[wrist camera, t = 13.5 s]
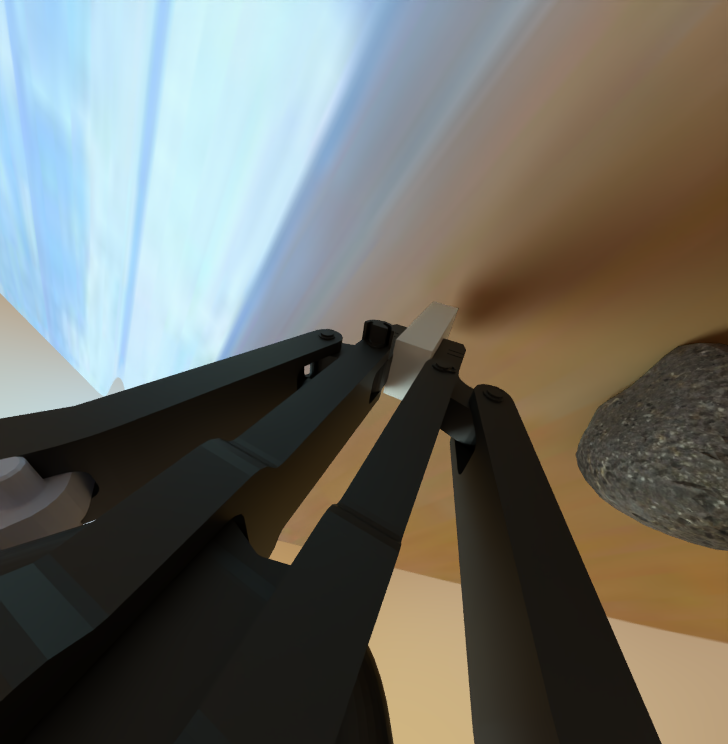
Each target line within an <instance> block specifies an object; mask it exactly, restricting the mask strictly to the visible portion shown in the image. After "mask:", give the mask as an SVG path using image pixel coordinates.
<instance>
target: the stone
mask: <svg viewBox="0 0 728 744" xmlns="http://www.w3.org/2000/svg"><path fill="white" fill-rule="evenodd" d="M576 458H577V464H578V467H579V469H580V471H581V473H582V475H583V476H584V478H585V480H586V481H587V482H588V483H589V485H590V486H591V487H592V488H593V489H594V490H595V492H596V493H597V494H598V495H599V496H600V497H601V498H602V499H603V500H605V501H606V502H607V503H609V504H610V505H611V506H613V507H614V508H616V509H617V510H619V511H621V512H622V513H624V514H626V515H628V516H629V517H631V518H633V519H635V520H637V521H638V522H640V523H642V524H643V525H645V526H648V527H651V528H653V529H655V530H658V531H661V532H663V533H665V534H667V535H670V536H673V537H676V538H679V539H682V540H685V541H687V542H690V543H694V544H697V545H701V546H705V547H708V548H712V549H717V550H726V551H728V345H724V344H714V343H696V344H690V345H684V346H678V347H677V348H675V349H674V350H673V351H671V352H670V353H668V354H667V355H665V356H664V357H663V358H662V359H661V360H660V361H659V362H658V363H656V364H655V365H654V366H653V367H652V368H651V369H650V370H649V371H648V372H646V373H645V374H644V375H643V376H642V377H641V378H640V379H638V380H637V381H636V382H635V383H634V384H633V385H631V386H630V387H629V388H627V389H626V390H624V391H623V392H621V393H619V394H618V395H616V396H614V397H613V398H611V399H609V400H608V401H606V402H605V403H604V404H602V405H601V406H599V407H598V409H597V411H596V412H595V414H594V416H593V417H592V419H591V421H590V423H589V425H588V427H587V429H586V430H585V432H584V433H583V436H582V438H581V440H580V442H579V445H578V451H577V452H576Z"/></svg>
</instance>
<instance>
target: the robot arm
mask: <svg viewBox="0 0 728 744" xmlns="http://www.w3.org/2000/svg"><path fill="white" fill-rule="evenodd" d="M457 311H458V308H455V307H452V306H448V305H445V304H441V303H437V302H434V301H433V302H432V303H431V304H430V305H429V306H428V307H427V308H426V309H425V310H424V311H423V312H422V313H421V315H420V316H419V317H418V318H417V319H416V320H415V321H414V322H413V323H412V324H411V325H410V326H409V327H408V328H407V327H404V326H401V325H398V324H395V325H391V324H390V323H387V322H385V321H380V320H368V321H365V323H364V330H363V336H362V340H361V341H359V342H358V343H357V344H356V345H350V344H345V343H342V339H343V337H342V335H341V334H340V333H338V332H336V331H334V330H330V329H321V330H316V331H313V332H309V333H306V334H303V335H300V336H297V337H293V338H290V339H287V340H284V341H281V342H277V343H274V344H271V345H268V346H265V347H261V348H258V349H255V350H252V351H249V352H246V353H242V354H239V355H236V356H233V357H230V358H226V359H223V360H220V361H217V362H214V363H210V364H207V365H204V366H201V367H198V368H194V369H191V370H188V371H185V372H182V373H178V374H175V375H172V376H169V377H166V378H162V379H159V380H156V381H153V382H150V383H146V384H143V385H140V386H137V387H134V388H130V389H127V390H124V391H121V392H118V393H115V394H111V395H108V396H105V397H102V398H98V399H96V400H92V401H89V402H86V403H83V404H79V405H76V406H72V407H66V408H61V409H55V410H48V411H43V412H37V413H31V414H25V415H19V416H13V417H7V418H1V419H0V744H393V737H392V731H391V725H390V718H389V712H388V706H387V701H386V696H385V692H384V688H383V684H382V680H381V677H380V674H379V671H378V668H377V665H376V662H375V659H374V657H373V655H372V653H371V650H370V648H369V646H368V643H369V640H370V637H371V634H372V631H373V628H374V625H375V623H376V620H377V617H378V613H379V611H380V608H381V605H382V602H383V599H384V596H385V593H386V590H387V587H388V584H389V581H390V578H391V575H392V572H393V569H394V566H395V563H396V560H397V557H398V554H399V551H400V547H401V541H402V537H403V534H404V531H405V528H406V525H407V522H408V520H409V517H410V514H411V511H412V508H413V505H414V502H415V499H416V496H417V493H418V490H419V488H420V485H421V482H422V479H423V476H424V473H425V470H426V467H427V464H428V461H429V459H430V456H431V453H432V450H433V447H434V444H435V441H436V438H437V435H438V432H439V430H440V429H441V430H442V431H444V432H445V433H447V434H448V435H450V436H451V439H450V450H451V463H452V475H453V488H454V500H455V513H456V525H457V538H458V550H459V563H460V575H461V588H462V600H463V613H464V624H465V637H466V650H467V662H468V675H469V687H470V700H471V712H472V724H473V734H474V743H475V744H662V743H661V741H660V739H659V737H658V734H657V732H656V730H655V727H654V725H653V723H652V720H651V718H650V716H649V713H648V711H647V709H646V706H645V704H644V702H643V700H642V697H641V695H640V693H639V691H638V688H637V686H636V683H635V681H634V679H633V676H632V674H631V672H630V669H629V667H628V665H627V663H626V660H625V658H624V656H623V653H622V651H621V649H620V646H619V644H618V642H617V639H616V637H615V635H614V632H613V630H612V628H611V625H610V623H609V621H608V619H607V616H606V614H605V612H604V609H603V607H602V605H601V602H600V600H599V598H598V595H597V593H596V591H595V588H594V586H593V584H592V582H591V579H590V577H589V575H588V572H587V570H586V568H585V565H584V563H583V561H582V558H581V556H580V554H579V551H578V549H577V547H576V545H575V542H574V540H573V538H572V535H571V533H570V531H569V528H568V526H567V524H566V521H565V519H564V517H563V514H562V512H561V510H560V508H559V505H558V503H557V501H556V498H555V496H554V494H553V491H552V489H551V487H550V484H549V482H548V480H547V477H546V475H545V473H544V471H543V468H542V466H541V464H540V461H539V459H538V457H537V454H536V452H535V450H534V447H533V445H532V443H531V440H530V438H529V436H528V434H527V431H526V429H525V427H524V424H523V422H522V420H521V417H520V415H519V413H518V410H517V408H516V406H515V403H514V401H513V399H512V398H511V397H510V395H508V394H507V393H506V392H505V391H504V390H502V389H499V388H498V387H496V386H491V385H486V384H481V385H477V386H476V387H475V388H474V389H473V388H471V387H469V386H468V385H466V384H465V383H464V382H462V381H461V379H460V378H459V376H458V374H459V369H460V366H461V363H462V360H463V358H464V355H465V352H466V349H465V347H464V345H463V344H460V343H457V342H454V341H450V340H447V339H448V336H449V334H450V331H451V328H452V325H453V322H454V320H455V317H456V314H457ZM309 364H310V373H309V374H307V375H305V374H304V366H306V365H309ZM384 385H385V388H384V393H385V394H388V395H390V396H393V397H395V398H397V399H400V400H402V401H401V403H400V404H399V406H398V408H397V409H396V411H395V413H394V414H393V416H392V417H391V419H390V421H389V422H388V424H387V426H386V427H385V429H384V430H383V432H382V434H381V435H380V437H379V439H378V440H377V442H376V443H375V445H374V447H373V448H372V450H371V452H370V453H369V455H368V456H367V458H366V460H365V461H364V463H363V465H362V466H361V468H360V469H359V471H358V473H357V474H356V476H355V478H354V479H353V481H352V482H351V484H350V486H349V487H348V489H347V491H346V492H345V494H344V495H343V497H342V498H341V500H340V501H339V502H338V503H337V504H332V505H331V506H330V507H329V508H328V509H327V511H326V512H325V514H324V515H323V516H322V518H321V519H320V521H319V522H318V524H317V525H316V527H315V528H314V530H313V532H312V533H311V535H310V536H309V538H308V539H307V541H306V542H305V544H304V546H303V547H302V549H301V550H300V552H299V553H298V555H297V556H296V558H295V560H294V561H293V563H292V564H291V565H288V564H284V563H281V562H278V561H274V560H271V559H268V558H269V557H270V555H271V553H272V551H273V549H274V548H275V545H276V542H277V540H278V537H279V535H280V533H281V531H282V529H283V528H284V526H285V525H286V523H287V522H288V521H289V519H290V518H291V517H292V515H293V514H294V513H295V511H296V510H297V509H298V507H299V506H300V504H301V503H302V502H303V500H304V499H305V498H306V496H307V495H308V494H309V492H310V491H311V490H312V488H313V487H314V486H315V484H316V483H317V482H318V480H319V479H320V478H321V476H322V475H323V473H324V472H325V471H326V469H327V468H328V467H329V465H330V464H331V463H332V461H333V460H334V459H335V457H336V456H337V455H338V453H339V452H340V451H341V449H342V448H343V446H344V445H345V444H346V442H347V441H348V440H349V438H350V437H351V436H352V434H353V433H354V432H355V430H356V429H357V428H358V426H359V425H360V424H361V422H362V421H363V419H364V418H365V417H366V415H367V414H368V413H369V411H370V410H371V409H372V407H373V406H374V405H375V403H376V402H377V401H378V399H379V397H380V394H381V390H382V388H383V386H384ZM93 520H95V521H93ZM91 521H93V522H91ZM88 522H91V523H88ZM85 523H88V524H85ZM83 524H84V525H83Z"/></svg>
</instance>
